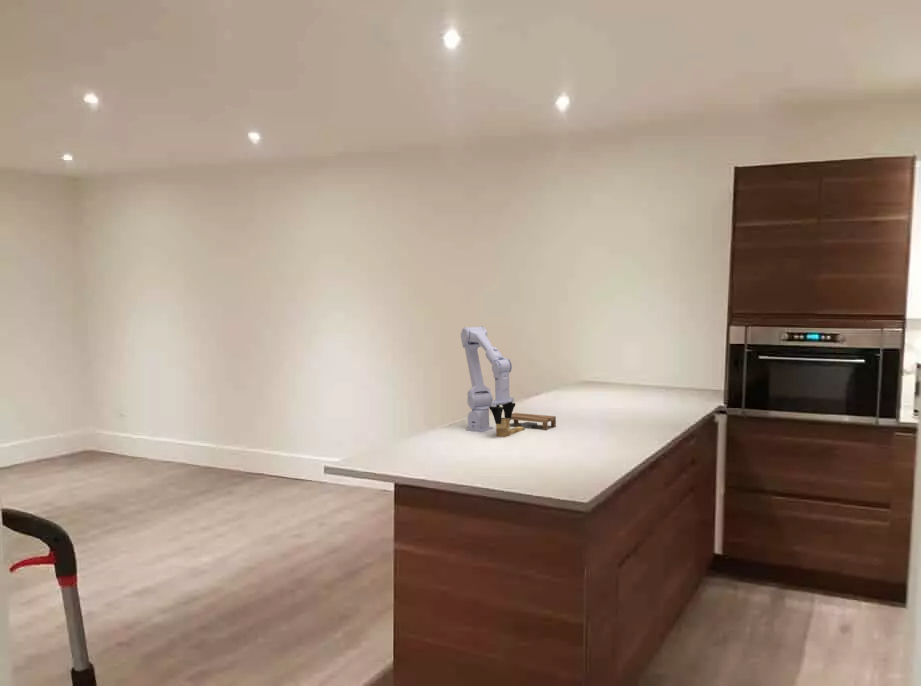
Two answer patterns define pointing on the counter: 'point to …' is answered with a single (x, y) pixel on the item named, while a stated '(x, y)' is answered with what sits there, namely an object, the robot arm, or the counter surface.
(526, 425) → the plate
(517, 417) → the shelf
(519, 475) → the counter surface
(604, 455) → the counter surface
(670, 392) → the counter surface
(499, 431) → the tool
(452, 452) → the counter surface
